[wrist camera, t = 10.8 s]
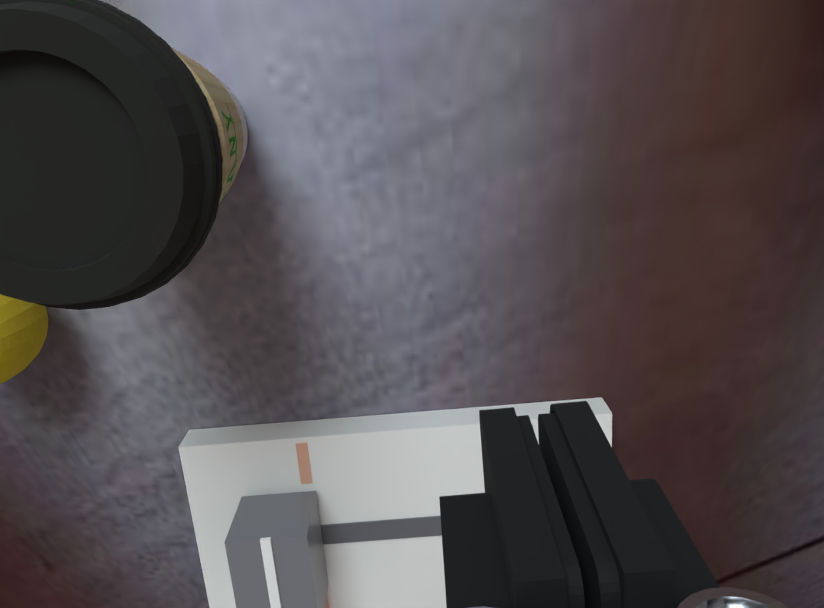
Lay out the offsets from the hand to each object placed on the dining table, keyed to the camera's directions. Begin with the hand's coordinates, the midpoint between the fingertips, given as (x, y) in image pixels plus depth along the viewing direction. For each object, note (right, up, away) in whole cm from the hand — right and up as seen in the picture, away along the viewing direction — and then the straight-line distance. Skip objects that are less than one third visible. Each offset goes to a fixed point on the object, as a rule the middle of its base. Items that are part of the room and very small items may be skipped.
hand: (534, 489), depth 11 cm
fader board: (-2, -9, +30) cm, 32 cm away
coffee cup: (-13, +11, +24) cm, 30 cm away
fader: (-9, -10, +28) cm, 31 cm away
